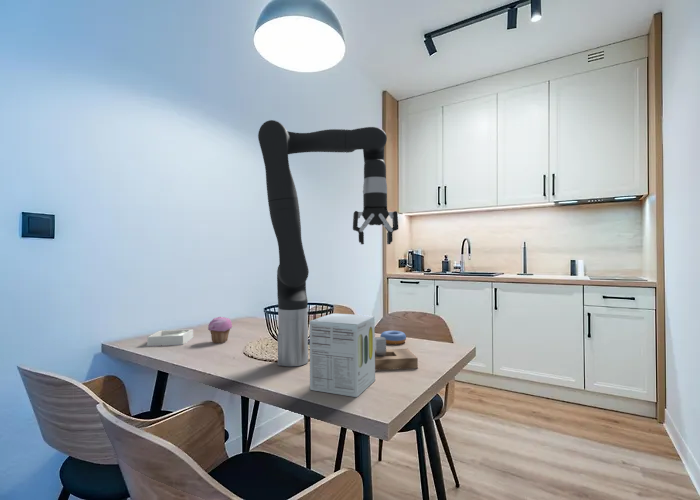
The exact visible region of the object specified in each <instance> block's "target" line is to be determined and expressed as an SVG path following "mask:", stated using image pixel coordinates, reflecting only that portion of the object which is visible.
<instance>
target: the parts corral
mask: <svg viewBox="0 0 700 500" xmlns="http://www.w3.org/2000/svg"><path fill="white" fill-rule="evenodd" d="M182 331H185V332H186V333H184V334H182V335H171V336H165V335H169V334H175V333H180V332H182ZM193 338H194V329H193V328H192V329H167V330H166V329H165V330H164V329H162V330H161V329H160V330H158V331H156V332H154V333H152V334H151V335H149V336H147V339H146V340H147V341H146V342H147V344H146V345H147V347H148V346H149V347H157V346H159V347H161V345H162V346H183V345H184V344H186V343H188V342H189V341H190V340H192V339H193Z"/></svg>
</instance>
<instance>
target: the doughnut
mask: <svg viewBox="0 0 700 500" xmlns="http://www.w3.org/2000/svg"><path fill="white" fill-rule="evenodd" d="M379 337H384V338H385V339H386V345H401V344H404V343H405V342H406V340H407V335H406V333H405V332H403V331H400V330H385V331H382V332H381V333H380V336H379Z"/></svg>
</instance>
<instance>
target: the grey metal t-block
mask: <svg viewBox="0 0 700 500" xmlns="http://www.w3.org/2000/svg"><path fill="white" fill-rule="evenodd" d="M386 349H387V344H386V339H385V338H384V337H380V336H379V337H378V336H377V337H375V357H384V356H386Z"/></svg>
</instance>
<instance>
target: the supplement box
mask: <svg viewBox="0 0 700 500" xmlns="http://www.w3.org/2000/svg"><path fill="white" fill-rule="evenodd" d="M375 324H376V323H375V315H370V314H369V315H367V314H366V315H365V314H354V313H353V314H352V313H351V314H350V313H334V312H333V313H332V312H331V313H330V314H327V315H323V316H320V317H318V318H314V319H312V320H309V390H310V391H317V392H321V393H328V394H334V395H339V396H340V395H341V396H347V397H353V398H358V397H359V396H360V395H361V394H362V393H363V392H364V391H366V389H367V388H369V387H370V386H371V385H372V384H373V383H374V382H375V381H376V370H375V335H376V334H375V329H376V328H375V327H376V326H375Z"/></svg>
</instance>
